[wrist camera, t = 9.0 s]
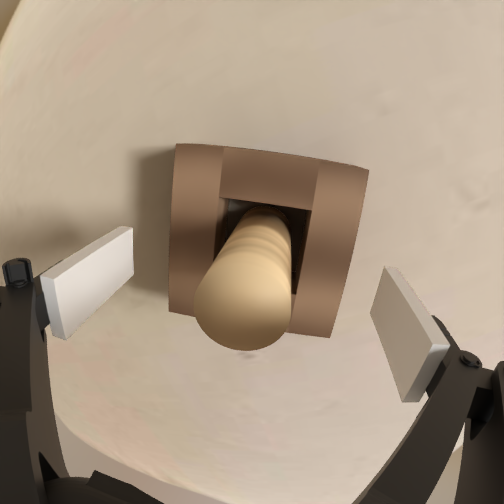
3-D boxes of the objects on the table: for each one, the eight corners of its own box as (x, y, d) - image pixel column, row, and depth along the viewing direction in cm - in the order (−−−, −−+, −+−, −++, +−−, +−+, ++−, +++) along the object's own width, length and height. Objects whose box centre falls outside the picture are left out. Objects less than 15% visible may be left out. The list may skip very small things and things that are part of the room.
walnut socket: (194, 143, 22) (176, 143, 18) (355, 165, 21) (369, 170, 17) (184, 288, 26) (168, 311, 22) (325, 310, 25) (329, 337, 22)
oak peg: (241, 202, 23) (195, 257, 12) (294, 209, 23) (299, 273, 12) (235, 252, 25) (192, 341, 13) (286, 259, 24) (281, 356, 13)
